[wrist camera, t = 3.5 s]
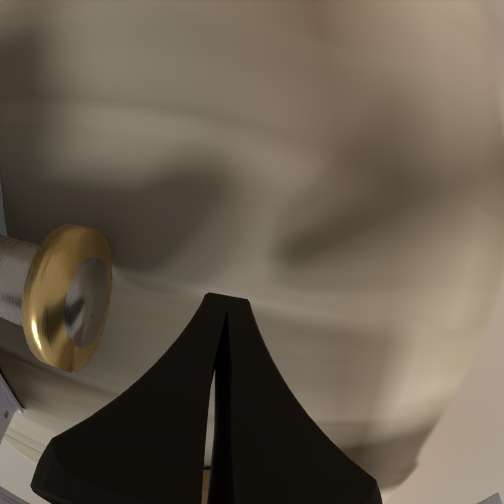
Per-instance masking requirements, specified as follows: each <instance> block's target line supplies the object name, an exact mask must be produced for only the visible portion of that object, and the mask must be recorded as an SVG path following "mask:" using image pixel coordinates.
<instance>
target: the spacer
mask: <svg viewBox="0 0 504 504" xmlns="http://www.w3.org/2000/svg"><path fill="white" fill-rule="evenodd" d="M0 235H4V236H7V231H6V224H5V217H4V209H3V200H2V189H1V174H0Z"/></svg>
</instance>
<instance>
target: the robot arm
mask: <svg viewBox="0 0 504 504" xmlns="http://www.w3.org/2000/svg"><path fill="white" fill-rule="evenodd" d="M214 371H215V425H214V441H213V450H212V460H211V469H210V479H209V488H208V497H207V504H382V498H381V494H380V491H379V488H378V485H377V482H376V480H375V479H374V478H373V477H372V476H370V475H369V474H368V473H367V472H365V471H364V470H363V469H362V468H360V467H359V466H358V465H357V464H355V463H354V462H353V461H352V460H351V459H349V458H348V457H347V456H346V455H345V454H344V453H343V452H342V451H341V450H340V449H339V448H338V447H337V446H336V445H335V444H334V443H333V442H332V441H331V440H330V439H329V438H328V437H327V436H326V435H325V434H324V432H323V431H322V430H321V429H320V428H319V427H318V426H317V425H316V423H315V422H314V421H313V420H312V419H311V418H310V416H309V415H308V414H307V413H306V411H305V410H304V409H303V407H302V406H301V405H300V403H299V402H298V401H297V399H296V398H295V396H294V395H293V393H292V392H291V390H290V389H289V387H288V386H287V384H286V383H285V381H284V379H283V378H282V376H281V374H280V372H279V371H278V369H277V367H276V365H275V363H274V362H273V360H272V358H271V356H270V354H269V352H268V349H267V347H266V345H265V343H264V341H263V339H262V336H261V334H260V331H259V329H258V326H257V324H256V321H255V318H254V315H253V312H252V309H251V305H250V302H249V301H248V299H243V298H237V297H232V296H226V295H221V294H215V293H210V292H209V293H207V294H205V296H204V299H203V301H202V303H201V305H200V307H199V308H198V310H197V312H196V313H195V315H194V316H193V318H192V319H191V321H190V322H189V324H188V325H187V326H186V328H185V329H184V331H183V332H182V333H181V335H180V336H179V337H178V338H177V340H176V341H175V342H174V343H173V344H172V345H171V347H170V348H169V349H168V350H167V351H166V353H165V354H164V355H163V356H162V357H161V358H160V359H159V360H158V361H157V362H156V363H155V364H154V365H153V366H152V367H151V368H150V369H149V370H148V371H147V372H146V373H145V374H144V375H143V376H142V377H141V378H140V379H139V380H137V381H136V382H135V383H134V384H133V385H132V386H131V387H129V388H128V389H127V390H126V391H125V392H123V393H122V394H121V395H120V396H118V397H117V398H116V399H114V400H113V401H112V402H110V403H109V404H107V405H106V406H105V407H103V408H102V409H100V410H99V411H97V412H96V413H95V414H93V415H92V416H90V417H89V418H87V419H85V420H84V421H82V422H80V423H79V424H77V425H75V426H73V427H72V428H70V429H68V430H66V431H65V432H63V433H61V434H59V435H57V436H55V437H54V438H52V439H51V441H50V442H49V444H48V445H47V447H46V449H45V450H44V452H43V454H42V456H41V458H40V459H39V462H38V464H37V467H36V470H35V473H34V476H33V479H32V482H31V485H30V486H31V488H32V490H33V492H35V493H36V494H37V495H39V496H40V497H42V498H43V499H45V500H46V501H48V502H50V503H51V504H202V485H203V469H204V454H205V442H206V430H207V418H208V408H209V398H210V388H211V384H212V379H213V375H214ZM15 411H17V412H19V413H21V414H22V413H23V409H22V407H21V406H20V404H19V403H18V401H17V400H16V398H15V397H14V395H13V393H12V392H11V390H10V389H9V387H8V385H7V384H6V382H5V380H4V379H3V377H2V375H1V373H0V443H1V441H2V439H3V436H4V434H5V432H6V430H7V428H8V426H9V423H10V421H11V419H12V417H13V415H14V413H15ZM0 504H30V503H28V502H26V501H24V500H22V499H21V498H19V497H17V496H16V495H14V494H12V493H10V492H9V491H7V490H5V489H4V488H2V487H1V486H0ZM477 504H502V503H501V499H500V496H499V493H495V494H493V495H492V496H490V497H488V498H487V499H485V500H483V501H481V502H479V503H477Z"/></svg>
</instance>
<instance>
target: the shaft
mask: <svg viewBox="0 0 504 504" xmlns="http://www.w3.org/2000/svg"><path fill="white" fill-rule="evenodd" d="M111 286H112V257H111V251H110V246H109V243H108V240H107V238H106V236H105V235H104V234H103V233H102V232H101V231H100V230H98V229H93V228H88V227H83V226H78V225H73V224H65V225H61V226H59V227H57V228H56V229H54V230H53V231H52V232H51V233H50V234H49V235H48V236H47V237H46V238H45V239H44V241H43V242H42V243H41V245H40V244H36V243H32V242H28V241H24V240H20V239H16V238H12V237H8V236H4V235H0V317H1V318H3V319H6V320H8V321H10V322H13V323H15V324H17V325H20V326H22V327H23V329H24V334H25V338H26V341H27V344H28V346H29V348H30V350H31V352H32V353H33V354H34V356H35V357H36V358H37V359H38V360H40V361H42V362H44V363H46V364H49V365H51V366H54V367H56V368H59V369H62V370H64V371H67V372H77V371H79V370H80V369H82V368H83V367H84V366H85V365H86V364H87V363H88V361H89V360H90V359H91V357H92V355H93V353H94V352H95V350H96V347H97V345H98V343H99V340H100V338H101V335H102V332H103V328H104V325H105V321H106V317H107V312H108V307H109V302H110V295H111Z"/></svg>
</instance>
